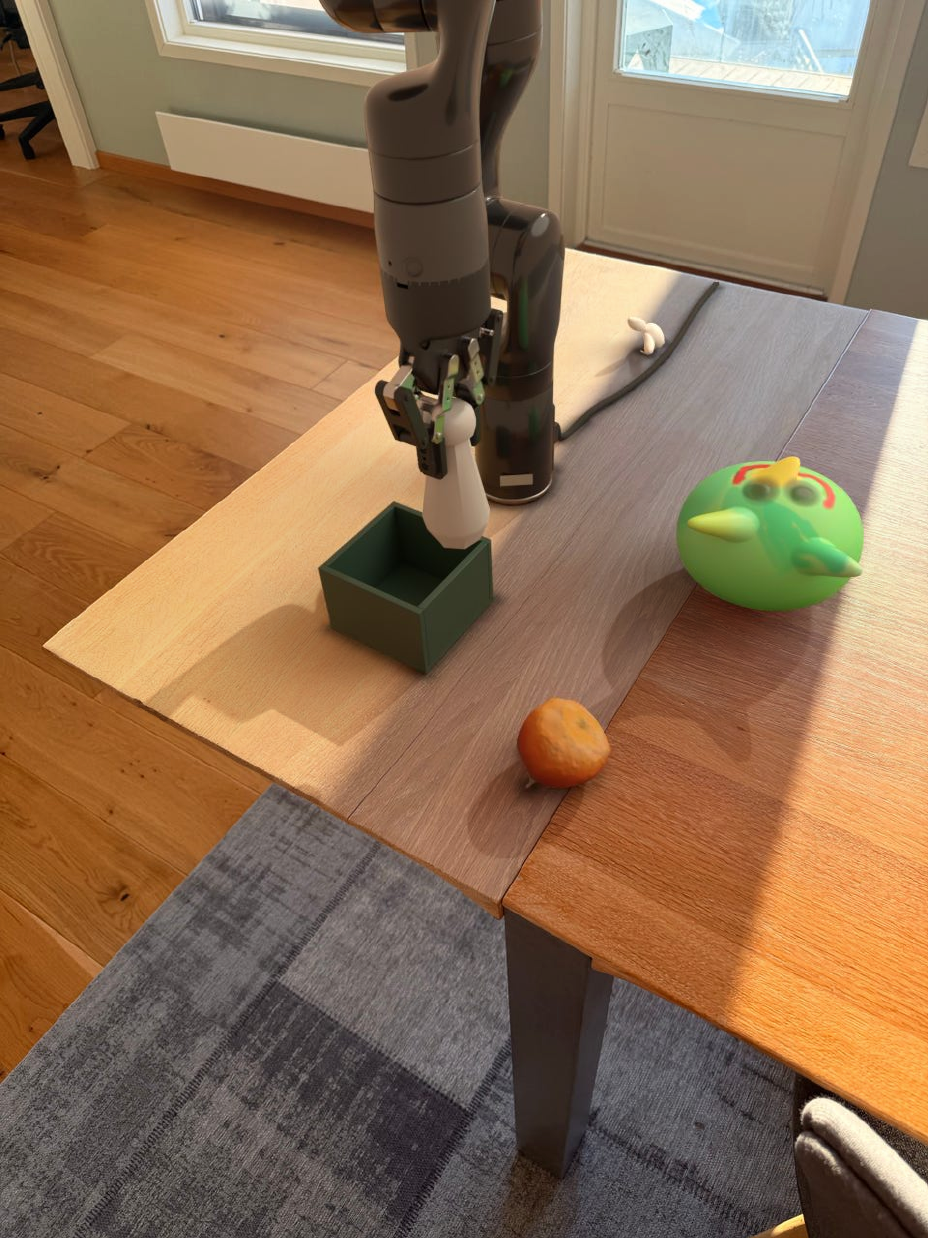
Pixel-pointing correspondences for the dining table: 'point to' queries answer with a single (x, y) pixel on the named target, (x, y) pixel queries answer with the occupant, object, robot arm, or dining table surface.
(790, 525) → the toy bird
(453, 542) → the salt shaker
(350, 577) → the bin
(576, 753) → the fruit
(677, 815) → the dining table surface
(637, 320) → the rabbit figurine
